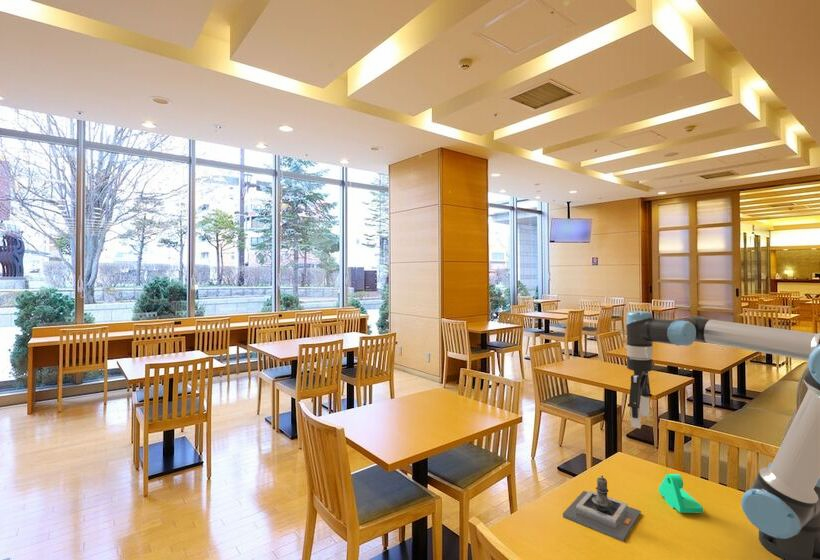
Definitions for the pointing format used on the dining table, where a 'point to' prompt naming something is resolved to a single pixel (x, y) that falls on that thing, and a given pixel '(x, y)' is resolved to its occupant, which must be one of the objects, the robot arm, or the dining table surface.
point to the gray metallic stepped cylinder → (602, 497)
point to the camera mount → (678, 495)
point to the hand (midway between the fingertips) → (640, 421)
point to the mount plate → (603, 516)
